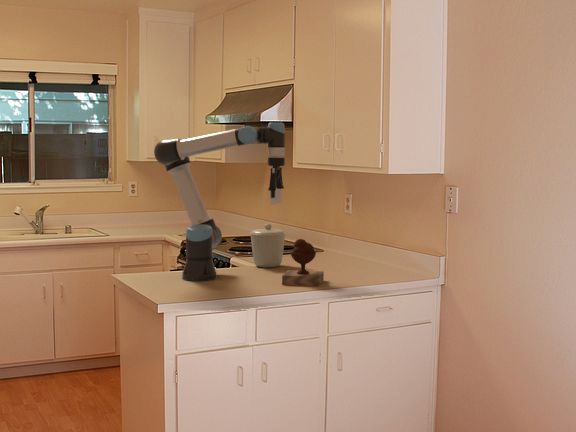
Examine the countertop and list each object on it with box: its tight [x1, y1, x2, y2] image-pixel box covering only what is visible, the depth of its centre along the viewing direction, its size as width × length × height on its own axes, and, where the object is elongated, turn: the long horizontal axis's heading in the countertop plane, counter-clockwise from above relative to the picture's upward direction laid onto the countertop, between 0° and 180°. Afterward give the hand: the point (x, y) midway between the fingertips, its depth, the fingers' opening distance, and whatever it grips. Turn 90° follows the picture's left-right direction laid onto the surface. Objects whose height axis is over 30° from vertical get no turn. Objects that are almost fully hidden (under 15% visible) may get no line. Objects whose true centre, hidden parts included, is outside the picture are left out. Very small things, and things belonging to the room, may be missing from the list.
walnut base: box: [281, 269, 325, 287], centre depth 335 cm, size 16×14×4 cm
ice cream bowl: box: [290, 238, 317, 275], centre depth 334 cm, size 11×11×15 cm
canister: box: [249, 223, 287, 268], centre depth 378 cm, size 18×18×21 cm
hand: (276, 204), depth 349 cm, fingers open, 13 cm apart
